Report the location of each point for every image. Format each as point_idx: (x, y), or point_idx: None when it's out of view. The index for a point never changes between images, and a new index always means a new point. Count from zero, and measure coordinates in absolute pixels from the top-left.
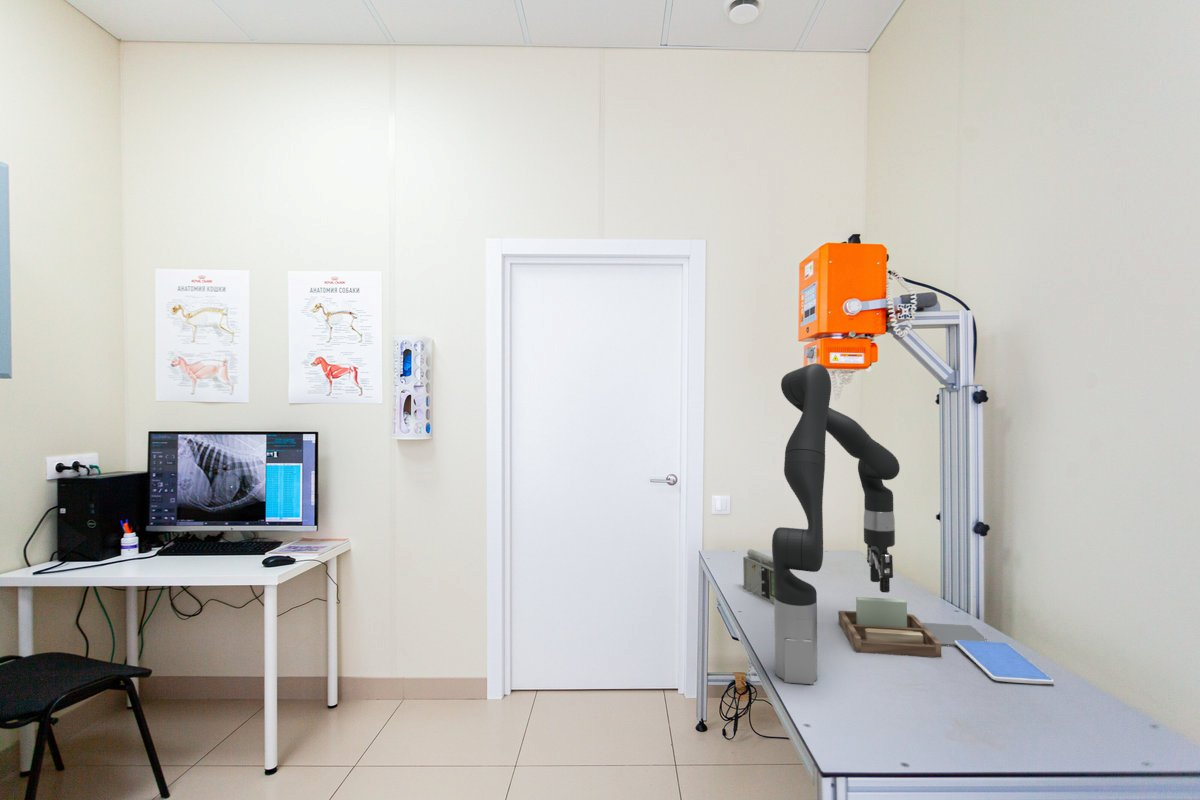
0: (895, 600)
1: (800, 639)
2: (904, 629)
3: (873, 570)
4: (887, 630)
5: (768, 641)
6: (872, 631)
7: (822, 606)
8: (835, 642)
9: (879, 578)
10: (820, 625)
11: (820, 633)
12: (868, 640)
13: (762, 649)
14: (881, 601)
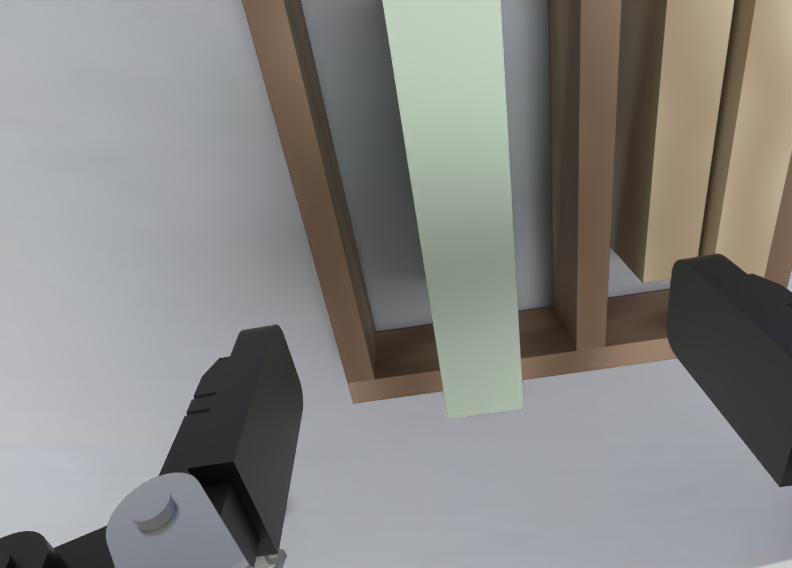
0: (459, 105)
1: None
2: (617, 22)
3: (272, 501)
4: (736, 172)
5: (645, 557)
6: (753, 266)
7: (129, 416)
8: (627, 372)
9: (270, 348)
10: (422, 423)
11: (526, 422)
12: None
13: (718, 565)
14: (512, 244)
